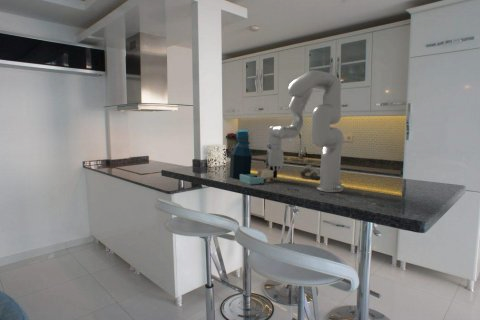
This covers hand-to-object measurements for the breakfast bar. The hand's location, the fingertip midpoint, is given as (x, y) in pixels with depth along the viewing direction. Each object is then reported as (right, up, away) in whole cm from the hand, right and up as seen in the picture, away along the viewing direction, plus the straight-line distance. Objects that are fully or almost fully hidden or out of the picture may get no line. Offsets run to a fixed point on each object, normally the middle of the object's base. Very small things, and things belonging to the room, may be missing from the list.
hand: (274, 177), depth 182 cm
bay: (-14, -2, -7) cm, 15 cm away
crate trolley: (-6, -2, -3) cm, 7 cm away
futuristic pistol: (+24, -2, +5) cm, 25 cm away
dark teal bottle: (-20, 0, +13) cm, 24 cm away
